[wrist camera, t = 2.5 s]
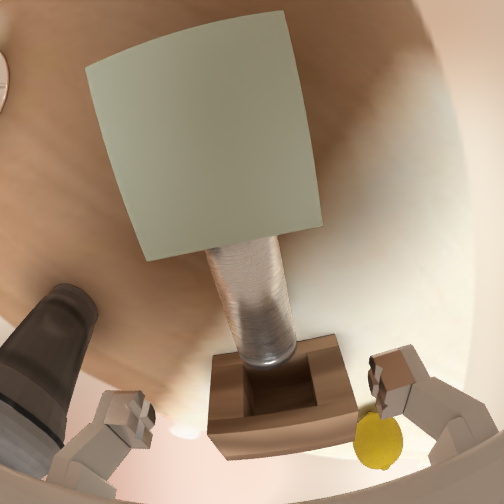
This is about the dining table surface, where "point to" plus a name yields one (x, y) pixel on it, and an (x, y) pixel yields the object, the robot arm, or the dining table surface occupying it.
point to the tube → (255, 300)
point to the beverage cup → (42, 378)
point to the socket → (282, 403)
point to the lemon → (378, 441)
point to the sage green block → (209, 135)
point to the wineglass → (3, 80)
